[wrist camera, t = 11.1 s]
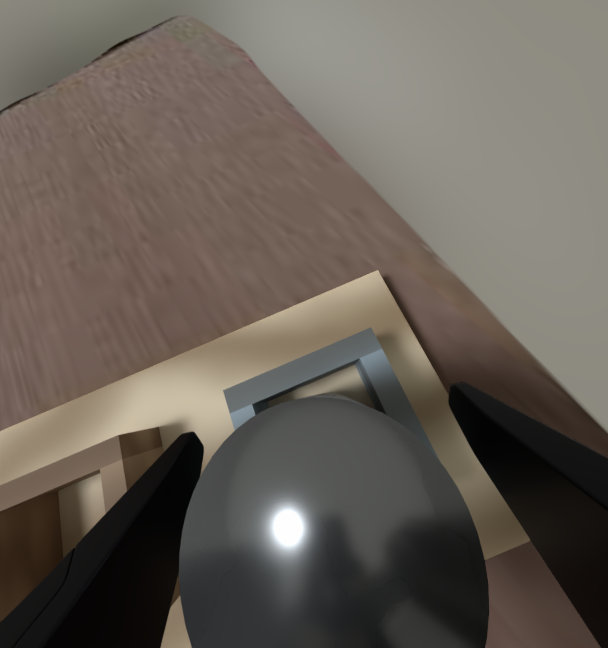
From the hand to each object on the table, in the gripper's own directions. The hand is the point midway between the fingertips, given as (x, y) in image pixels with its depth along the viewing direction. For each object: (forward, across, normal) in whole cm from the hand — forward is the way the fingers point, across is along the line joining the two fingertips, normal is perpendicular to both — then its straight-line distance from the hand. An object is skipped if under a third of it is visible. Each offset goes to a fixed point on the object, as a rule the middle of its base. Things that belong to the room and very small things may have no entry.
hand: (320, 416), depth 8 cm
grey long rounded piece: (+3, 0, +6) cm, 6 cm away
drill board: (+4, +7, +8) cm, 11 cm away
